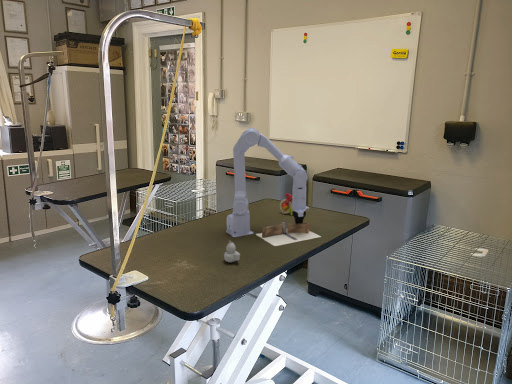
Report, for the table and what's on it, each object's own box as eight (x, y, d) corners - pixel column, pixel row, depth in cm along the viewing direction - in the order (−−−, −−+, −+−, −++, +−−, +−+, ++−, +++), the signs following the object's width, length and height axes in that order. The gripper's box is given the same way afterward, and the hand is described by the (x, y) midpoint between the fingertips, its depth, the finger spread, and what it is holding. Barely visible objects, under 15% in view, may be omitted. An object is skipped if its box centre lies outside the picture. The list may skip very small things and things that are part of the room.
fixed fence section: (263, 238, 163) (263, 226, 162) (261, 236, 164) (261, 225, 163) (287, 233, 168) (287, 222, 167) (285, 232, 170) (285, 221, 169)
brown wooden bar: (287, 233, 168) (287, 224, 167) (287, 231, 169) (287, 223, 168) (309, 232, 168) (309, 223, 167) (308, 231, 170) (308, 222, 169)
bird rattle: (281, 219, 196) (297, 214, 191) (272, 198, 195) (288, 192, 191) (286, 216, 201) (302, 211, 196) (278, 195, 201) (293, 190, 196)
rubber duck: (230, 257, 145) (229, 236, 143) (244, 261, 141) (244, 239, 139) (220, 262, 140) (219, 240, 139) (234, 266, 137) (234, 244, 135)
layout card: (274, 247, 154) (274, 245, 154) (255, 235, 168) (255, 233, 168) (321, 237, 164) (321, 236, 164) (299, 226, 178) (299, 225, 178)
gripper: (311, 201, 160) (310, 233, 163) (307, 192, 174) (306, 223, 177) (293, 201, 160) (292, 234, 163) (290, 192, 174) (290, 223, 177)
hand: (298, 228), depth 170 cm, fingers closed
